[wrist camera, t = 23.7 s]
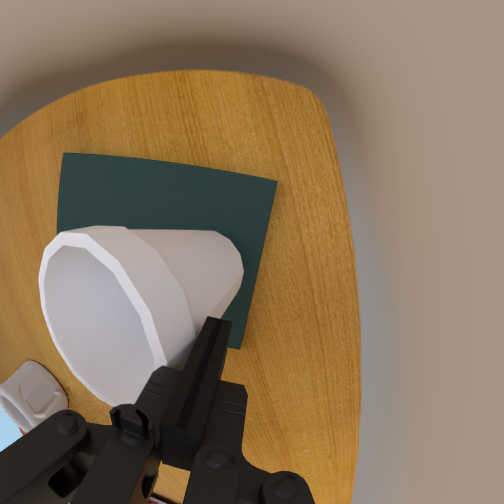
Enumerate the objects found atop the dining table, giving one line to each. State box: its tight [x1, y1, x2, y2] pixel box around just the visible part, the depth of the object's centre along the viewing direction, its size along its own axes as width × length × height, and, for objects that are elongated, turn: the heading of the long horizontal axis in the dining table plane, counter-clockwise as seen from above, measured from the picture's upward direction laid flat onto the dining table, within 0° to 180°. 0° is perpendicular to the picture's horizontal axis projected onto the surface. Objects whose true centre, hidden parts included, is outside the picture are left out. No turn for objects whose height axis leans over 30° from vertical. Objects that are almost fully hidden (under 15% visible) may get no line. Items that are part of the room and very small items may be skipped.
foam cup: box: [39, 226, 244, 407], centre depth 17 cm, size 10×9×13 cm
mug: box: [0, 360, 68, 433], centre depth 28 cm, size 14×11×10 cm
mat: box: [57, 153, 277, 350], centre depth 24 cm, size 22×16×1 cm
